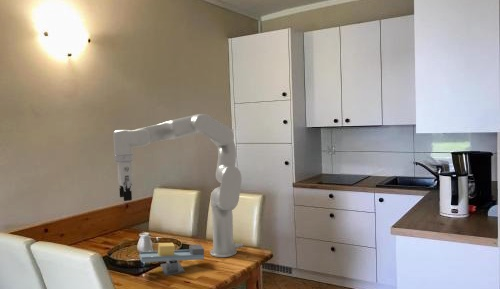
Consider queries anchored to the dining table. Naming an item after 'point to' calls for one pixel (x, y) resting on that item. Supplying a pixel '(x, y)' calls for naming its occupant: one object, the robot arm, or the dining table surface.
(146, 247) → the flask
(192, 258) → the beam
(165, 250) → the block
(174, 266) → the fulcrum
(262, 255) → the dining table surface
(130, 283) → the dining table surface
